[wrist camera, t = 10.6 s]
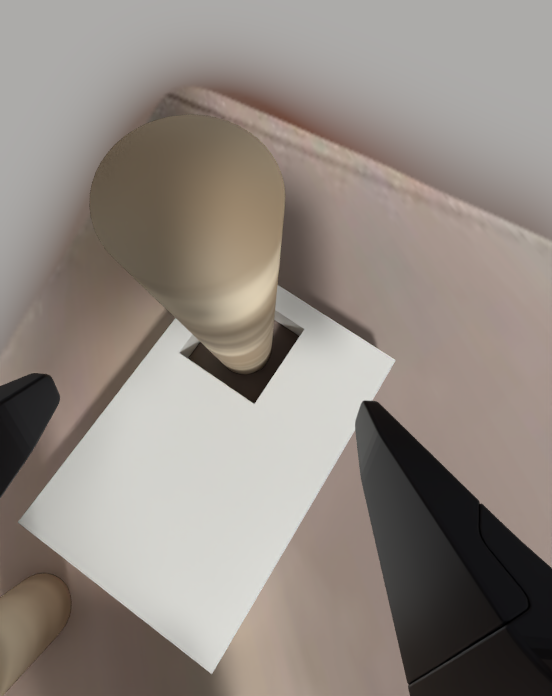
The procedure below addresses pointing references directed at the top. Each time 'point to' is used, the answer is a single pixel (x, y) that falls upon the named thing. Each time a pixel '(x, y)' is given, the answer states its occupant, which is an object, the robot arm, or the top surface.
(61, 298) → the top surface
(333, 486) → the top surface
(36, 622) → the short pin
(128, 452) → the hole plate
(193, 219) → the long pin
